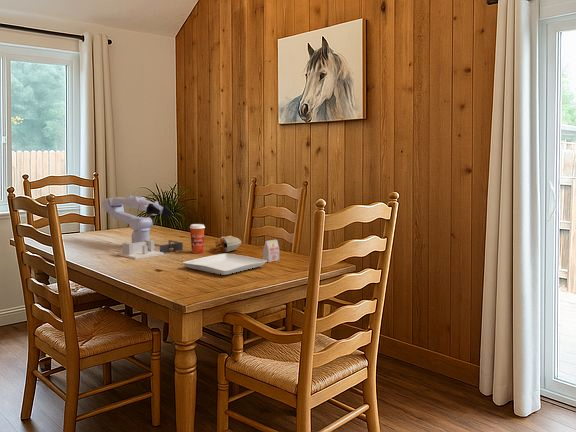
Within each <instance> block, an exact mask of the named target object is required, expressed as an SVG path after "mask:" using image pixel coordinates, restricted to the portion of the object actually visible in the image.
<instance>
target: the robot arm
mask: <svg viewBox="0 0 576 432" xmlns="http://www.w3.org/2000/svg"><path fill="white" fill-rule="evenodd" d="M101 205H102V209H103V211H104V212H106V213H107V214H109V215H110V216H111V218H113V219H114V220H116V221H119V222H122V223H124V224H126V225H129V227H130V228H131V229H132V230H133V231H132V233H131V243H137V242H144V240H147V239H148V240H150V231H151V230H152V228H153V220H152V218H151V217H149V216H148V217H143V216H142V217H141V216H137V215H135V214H131V213H129V212H125V210H124V209H125V208H124V205H125V207H127V208H133V209H134V210H137V209H138V210H141V211H143V212H145V214H146V215H152V216H156V215H157V216H158V215H160V214H161V217H164V218H165V217H173V211H171V210H170V208H169V206H168V205H163V206H162V205H160V204H159V201H154V202H153V201H150V200H148V199H147V198H146V197H144V196H139V197H138V196H137V195H134V196H133V195H132V194H131V195H128V196H126V197H121V196H117V197H109V198H103V199H102V203H101Z"/></svg>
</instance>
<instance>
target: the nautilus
mask: <svg viewBox="0 0 576 432" xmlns="http://www.w3.org/2000/svg"><path fill="white" fill-rule="evenodd" d="M211 244H212V245H211V247H212V246H215V247H214V248H212V249H209V251H211V250H214V251H213V252H211V254H214V255H215V254H218V255H219V254H222V253H230V252H231V251H235V250H237V249H238V248H239V247H240V245H241V244H242V241H241V239H240V238H238V237H235V236H232V235H227V236H224V235H223V236H221V237H219V238H218V239H216V240H215V241H212V242H211Z"/></svg>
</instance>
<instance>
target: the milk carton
mask: <svg viewBox="0 0 576 432" xmlns="http://www.w3.org/2000/svg"><path fill="white" fill-rule="evenodd" d="M262 260H267V262H270V263H273V262H272V261H276V262H279V261H280V245H279V242H278V239H272V240H271V239H270V240H265V242H264V246H263V248H262ZM278 260H279V261H278ZM267 262H266V263H267Z"/></svg>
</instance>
